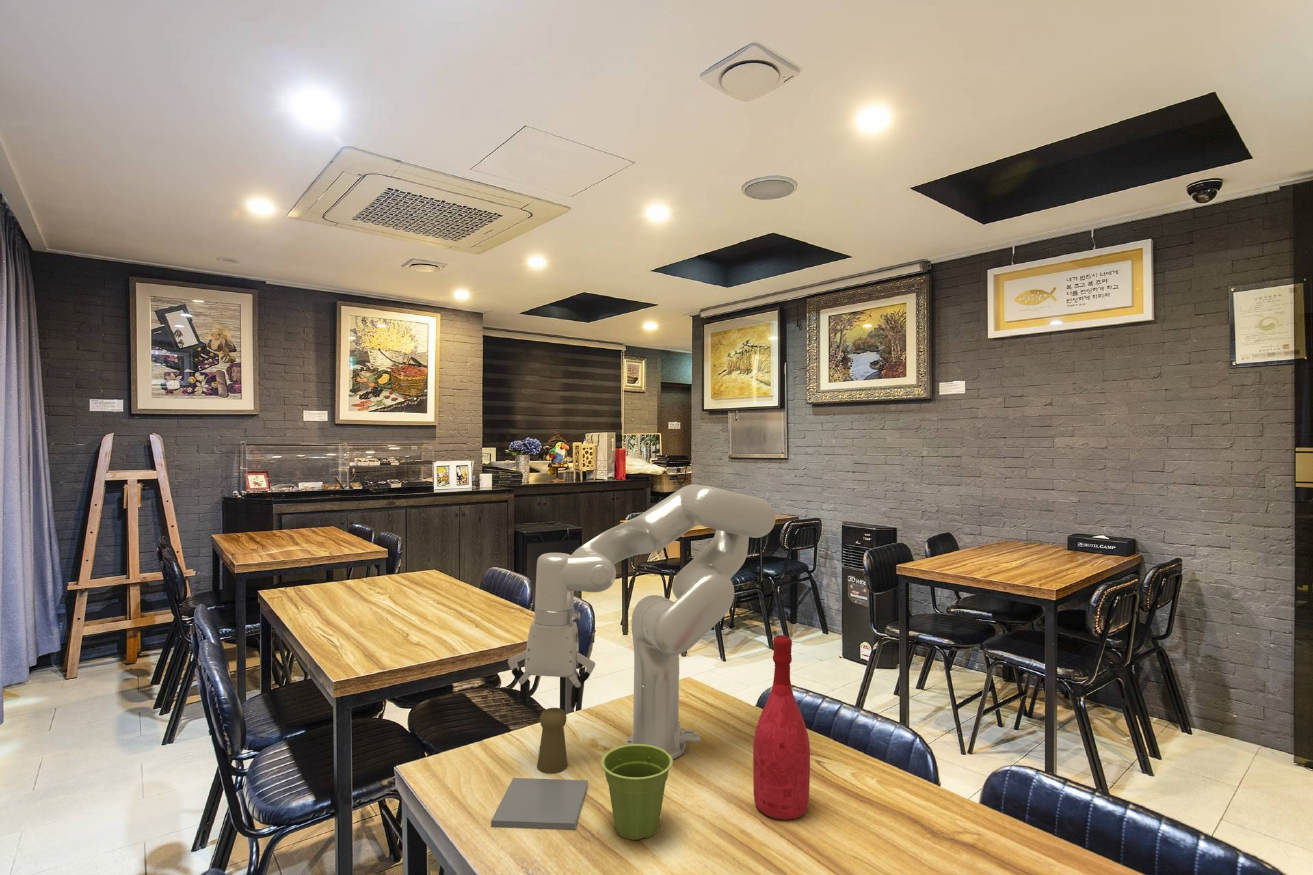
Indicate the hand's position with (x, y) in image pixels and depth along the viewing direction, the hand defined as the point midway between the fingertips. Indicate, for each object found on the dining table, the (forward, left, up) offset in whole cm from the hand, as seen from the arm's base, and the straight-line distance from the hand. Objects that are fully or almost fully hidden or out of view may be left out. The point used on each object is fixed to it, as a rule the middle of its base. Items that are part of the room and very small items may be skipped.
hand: (549, 703), depth 128 cm
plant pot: (-19, +20, -13) cm, 30 cm away
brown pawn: (-1, 0, -13) cm, 13 cm away
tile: (-2, +14, -12) cm, 19 cm away
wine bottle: (-44, +12, -13) cm, 47 cm away
